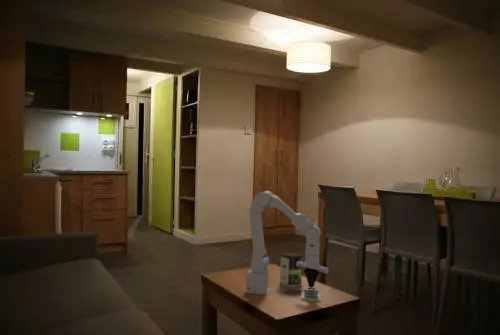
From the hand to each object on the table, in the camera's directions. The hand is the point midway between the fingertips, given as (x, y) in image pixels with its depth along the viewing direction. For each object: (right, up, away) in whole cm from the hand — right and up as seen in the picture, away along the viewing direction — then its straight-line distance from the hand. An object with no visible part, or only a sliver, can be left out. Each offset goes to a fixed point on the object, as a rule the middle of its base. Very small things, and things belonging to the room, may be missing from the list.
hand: (311, 286), depth 161 cm
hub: (0, -5, 0) cm, 5 cm away
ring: (0, -4, 0) cm, 4 cm away
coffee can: (-7, -5, +20) cm, 21 cm away
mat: (-7, -5, +6) cm, 11 cm away
